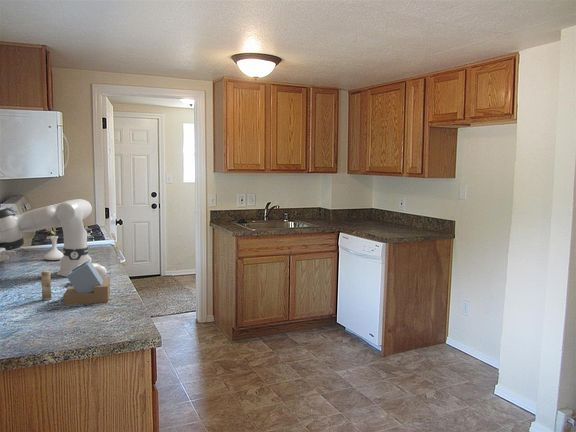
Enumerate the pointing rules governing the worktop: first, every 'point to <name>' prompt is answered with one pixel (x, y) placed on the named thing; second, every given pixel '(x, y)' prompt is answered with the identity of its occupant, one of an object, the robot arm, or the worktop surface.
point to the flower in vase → (53, 248)
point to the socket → (86, 286)
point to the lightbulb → (101, 271)
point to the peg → (46, 285)
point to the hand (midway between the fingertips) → (11, 255)
